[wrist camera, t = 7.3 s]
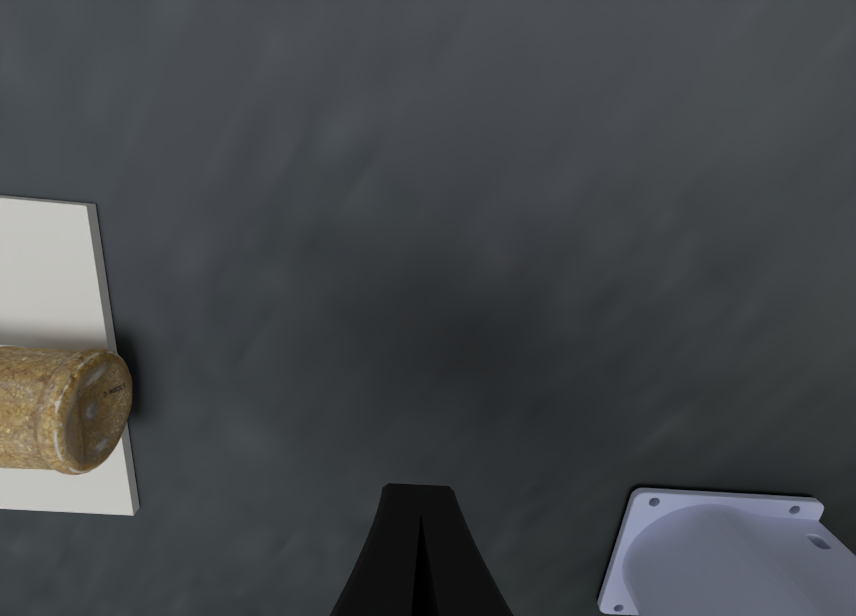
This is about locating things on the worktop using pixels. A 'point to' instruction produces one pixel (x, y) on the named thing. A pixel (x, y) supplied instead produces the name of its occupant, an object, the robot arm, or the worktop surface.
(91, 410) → the sprinkles bottle
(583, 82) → the worktop surface
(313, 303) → the worktop surface
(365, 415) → the worktop surface
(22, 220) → the mat
